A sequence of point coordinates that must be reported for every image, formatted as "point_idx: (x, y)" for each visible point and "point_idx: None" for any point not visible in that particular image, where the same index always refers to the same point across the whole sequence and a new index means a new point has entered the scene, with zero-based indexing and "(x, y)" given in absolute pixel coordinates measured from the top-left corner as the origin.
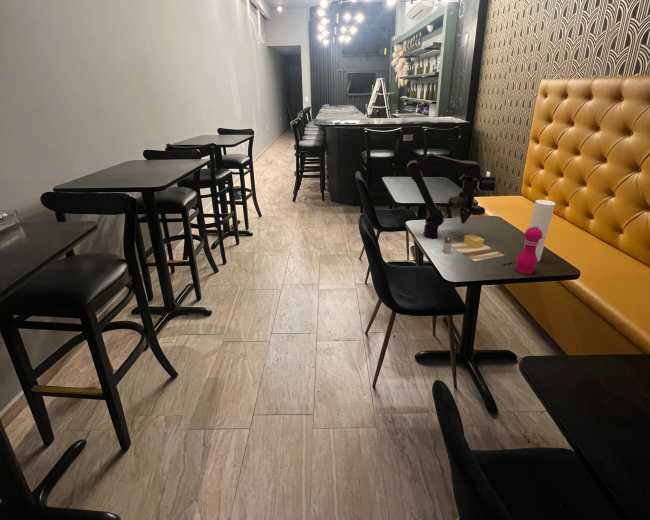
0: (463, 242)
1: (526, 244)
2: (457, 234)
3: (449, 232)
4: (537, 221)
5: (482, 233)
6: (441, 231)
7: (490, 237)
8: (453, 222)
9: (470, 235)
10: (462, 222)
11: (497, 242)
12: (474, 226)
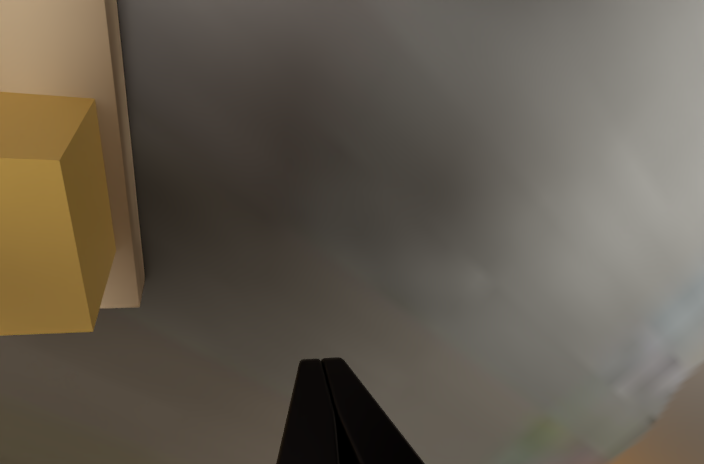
0: (98, 101)
1: None
2: (438, 257)
3: (529, 219)
4: None
5: None
6: (610, 159)
7: (221, 446)
8: (623, 372)
9: (36, 258)
10: (309, 376)
11: (89, 444)
12: (462, 448)
